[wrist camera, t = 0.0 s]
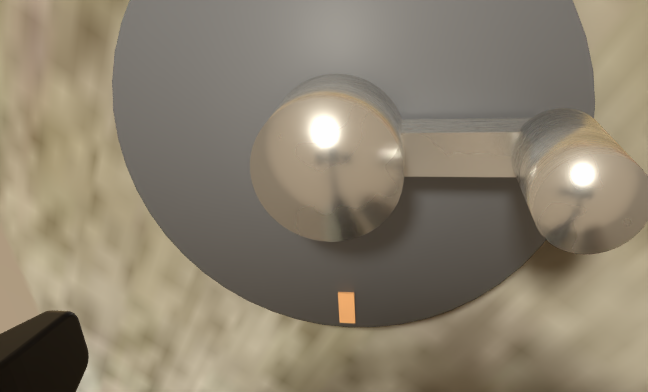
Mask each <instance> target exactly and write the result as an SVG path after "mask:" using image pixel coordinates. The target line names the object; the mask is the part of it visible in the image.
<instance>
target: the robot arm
mask: <svg viewBox="0 0 648 392" xmlns="http://www.w3.org/2000/svg"><path fill="white" fill-rule="evenodd" d="M88 358H89V356H88V349H87V345H86V342H85V339H84V336H83V332H82V329H81V326H80V323H79V320H78V317H77V316H76V315H75V314H74V313H72V312H69V311H46V312H44V313H42V314H40V315H38V316H36V317H34V318H32V319H30V320H28V321H26V322H24V323H22V324H19V325H17V326H15V327H13V328H11V329H10V330H7V331H6V332H4V333H1V334H0V392H76V390H77V388H78V386H79V383H80V381H81V379H82V377H83V374H84V372H85V370H86V367H87V364H88Z"/></svg>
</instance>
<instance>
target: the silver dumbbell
mask: <svg viewBox="0 0 648 392" xmlns="http://www.w3.org/2000/svg"><path fill="white" fill-rule="evenodd" d="M250 175H251V180H252V184H253V187H254V190H255V193H256V195H257V197H258V199H259V201H260V202H261V204H262V205H263V207H264V208H265V210H266V211H267V212H268V213H269V214H270V216H272V217H273V218H274V219H275V220H276V221H277V222H278V223H279V224H281V225H282V226H283V227H285V228H286V229H288V230H290V231H292V232H293V233H296V234H298V235H300V236H303V237H306V238H309V239H313V240H318V241H327V242H337V241H345V240H350V239H354V238H358V237H360V236H362V235H365V234H367V233H369V232H370V231H372V230H374V229H375V228H377V227H378V226H379V225H381V224H382V223H383V222H384V221H385V220H386V219H387V218H388V217H389V215H390V214H391V213H392V211H393V210H394V208H395V207H396V205H397V203H398V201H399V198H400V196H401V193H402V188H403V183H404V177H516V178H517V181H518V183H519V185H520V188H521V190H522V193H523V195H524V198H525V200H526V202H527V205H528V207H529V210H530V212H531V215H532V217H533V219H534V222H535V224H536V226H537V229H538V230H539V232H540V233H541V235H542V236H543V237H544V238H545V239H546V240H547V241H548V242H549V243H550V244H552V245H554V246H555V247H557V248H559V249H561V250H564V251H567V252H571V253H576V254H596V253H601V252H606V251H609V250H612V249H615V248H617V247H619V246H621V245H623V244H624V243H626V242H628V241H629V240H630V239H632V238H633V237H634V236H635V235H636V234H638V233H639V232H640V230H641V229H642V228H643V227H644V225H645V224H646V222H647V221H648V176H647V174H646V173H645V172H644V171H643V169H642V168H641V167H640V166H639V165H638V164H637V163H636V162H635V161H634V160H633V159H632V158H631V157H630V156H629V155H628V154H627V153H626V152H625V151H624V149H623V148H622V147H621V146H620V145H619V144H618V143H617V142H616V141H615V140H614V139H613V138H612V137H611V136H610V135H609V134H608V133H607V132H606V131H605V130H604V129H603V127H602V126H601V125H600V124H599V123H598V122H597V121H596V120H595V119H594V118H592V117H591V116H590V115H588V114H586V113H584V112H582V111H579V110H576V109H570V108H558V109H552V110H548V111H545V112H542V113H540V114H538V115H536V116H534V117H533V118H462V119H402V118H401V115H400V113H399V111H398V109H397V107H396V106H395V104H394V103H393V102H392V100H391V99H390V98H389V97H388V96H387V95H386V93H384V92H383V91H382V90H381V89H380V88H378V87H377V86H375V85H374V84H372V83H371V82H369V81H367V80H364V79H362V78H359V77H356V76H353V75H347V74H325V75H320V76H316V77H314V78H311V79H308V80H306V81H305V82H303V83H301V84H299V85H298V86H297V87H295V88H294V89H293V90H292V91H291V92H290V93H289V94H288V95H287V96H286V97H285V99H284V100H283V101H282V102H281V104H280V105H279V106H278V108H277V109H276V110H275V112H274V113H273V114H272V116H271V117H270V118H269V119H268V121H267V122H266V123H265V125H264V126H263V127H262V129H261V130H260V132H259V133H258V135H257V137H256V139H255V142H254V144H253V147H252V151H251V156H250Z"/></svg>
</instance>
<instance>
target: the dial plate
mask: <svg viewBox="0 0 648 392" xmlns="http://www.w3.org/2000/svg"><path fill="white" fill-rule="evenodd" d="M325 74H347V75H353V76H356V77H359V78H362V79H364V80H367V81H369V82H371V83H372V84H374V85H375V86H377V87H378V88H380V89H381V90H382V91H383V92H384V93H386V95H387V96H388V97H389V98H390V99H391V100H392V102H393V103H394V104H395V106H396V107H397V109H398V111H399V113H400V115H401V118H402V119H462V118H533V117H534V116H536V115H538V114H540V113H542V112H545V111H548V110H552V109H558V108H570V109H576V110H579V111H582V112H584V113H586V114H588V115H590V116H591V117H592V118H594V110H595V94H594V76H593V67H592V63H591V58H590V53H589V48H588V43H587V38H586V35H585V32H584V30H583V27H582V24H581V21H580V19H579V16H578V13H577V11H576V8H575V5H574V3H573V1H572V0H130V1H129V4H128V7H127V9H126V12H125V14H124V17H123V20H122V23H121V27H120V31H119V36H118V40H117V45H116V49H115V56H114V67H113V79H112V87H113V111H114V117H115V123H116V128H117V134H118V140H119V143H120V146H121V150H122V153H123V156H124V160H125V163H126V166H127V168H128V171H129V173H130V175H131V178H132V180H133V182H134V185H135V187H136V189H137V191H138V193H139V195H140V197H141V198H142V200H143V202H144V204H145V205H146V207H147V209H148V211H149V212H150V214H151V215H152V217H153V218H154V220H155V221H156V222H157V224H158V225H159V226H160V228H161V229H162V230H163V232H164V233H165V235H166V236H167V237H168V238H169V239H170V240H171V241H172V242H173V244H174V245H175V246H176V247H177V248H178V249H179V250H180V251H181V252H182V253H183V254H184V256H186V257H187V258H188V259H189V260H190V261H191V262H192V263H194V264H195V265H196V266H197V267H198V268H199V269H200V270H202V271H203V272H204V273H205V274H206V275H208V276H209V277H211V278H212V279H214V280H215V281H216V282H218V283H219V284H221V285H222V286H223V287H225V288H226V289H228V290H230V291H232V292H233V293H235V294H237V295H239V296H241V297H242V298H244V299H246V300H248V301H250V302H252V303H254V304H257V305H259V306H261V307H264V308H266V309H268V310H270V311H273V312H276V313H279V314H282V315H286V316H289V317H292V318H295V319H299V320H304V321H308V322H313V323H318V324H324V325H333V326H343V327H378V326H388V325H397V324H403V323H408V322H412V321H417V320H421V319H426V318H429V317H432V316H435V315H438V314H441V313H444V312H447V311H450V310H452V309H454V308H457V307H459V306H461V305H463V304H465V303H467V302H469V301H471V300H474V299H476V298H477V297H479V296H481V295H482V294H484V293H485V292H487V291H489V290H490V289H492V288H493V287H495V286H497V285H498V284H500V283H501V282H502V281H504V280H505V279H506V278H507V277H509V276H510V275H511V274H512V273H514V272H515V271H516V270H517V269H519V268H520V267H521V266H522V265H523V264H524V263H525V262H526V261H527V260H528V259H529V258H530V257H531V256H532V255H533V254H534V253H535V252H536V251H537V250H538V249H539V248H540V247H541V245H542V244H543V243H544V241H545V240H546V239H545V238H544V237H543V236H542V235H541V233H540V232H539V230H538V229H537V226H536V224H535V222H534V219H533V217H532V215H531V212H530V210H529V207H528V205H527V202H526V200H525V198H524V195H523V193H522V190H521V188H520V185H519V183H518V181H517V178H516V177H404V183H403V188H402V193H401V196H400V198H399V201H398V203H397V205H396V207H395V208H394V210H393V211H392V213H391V214H390V215H389V217H388V218H387V219H386V220H385V221H384V222H383V223H382V224H381V225H379V226H378V227H377V228H375V229H374V230H372V231H370V232H369V233H367V234H365V235H362V236H360V237H358V238H354V239H350V240H345V241H337V242H327V241H318V240H313V239H309V238H306V237H303V236H300V235H298V234H296V233H293V232H292V231H290V230H288V229H286V228H285V227H283V226H282V225H281V224H279V223H278V222H277V221H276V220H275V219H274V218H273V217H272V216H270V214H269V213H268V212H267V211H266V210H265V208H264V207H263V205H262V204H261V202H260V201H259V199H258V197H257V195H256V193H255V190H254V187H253V184H252V180H251V175H250V156H251V151H252V147H253V144H254V142H255V139H256V137H257V135H258V133H259V132H260V130H261V129H262V127H263V126H264V125H265V123H266V122H267V121H268V119H269V118H270V117H271V116H272V114H273V113H274V112H275V110H276V109H277V108H278V106H279V105H280V104H281V102H282V101H283V100H284V99H285V97H286V96H287V95H288V94H289V93H290V92H291V91H292V90H293V89H294V88H295V87H297V86H298V85H299V84H301V83H303V82H305V81H306V80H308V79H311V78H314V77H316V76H320V75H325Z"/></svg>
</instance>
